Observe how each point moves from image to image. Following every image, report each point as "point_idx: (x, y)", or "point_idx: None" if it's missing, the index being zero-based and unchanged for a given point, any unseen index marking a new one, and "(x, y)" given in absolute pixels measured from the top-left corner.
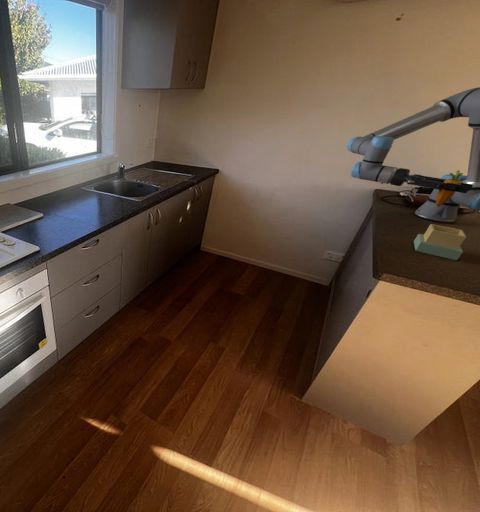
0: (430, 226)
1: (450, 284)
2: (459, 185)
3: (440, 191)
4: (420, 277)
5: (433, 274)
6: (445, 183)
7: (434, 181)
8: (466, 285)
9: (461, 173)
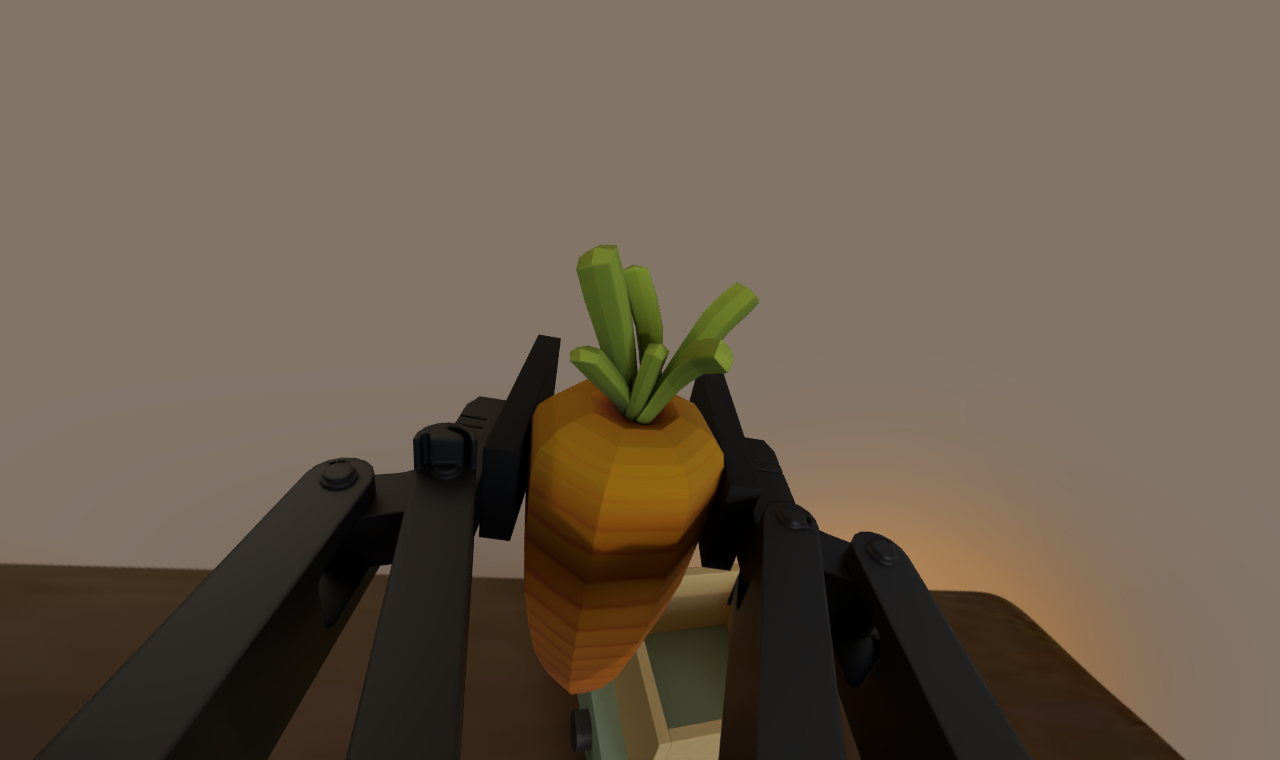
0: (700, 743)
1: (1019, 643)
2: (735, 413)
3: (656, 608)
4: (1121, 737)
5: (1015, 697)
6: (791, 505)
7: (826, 636)
8: (955, 605)
9: (651, 279)
